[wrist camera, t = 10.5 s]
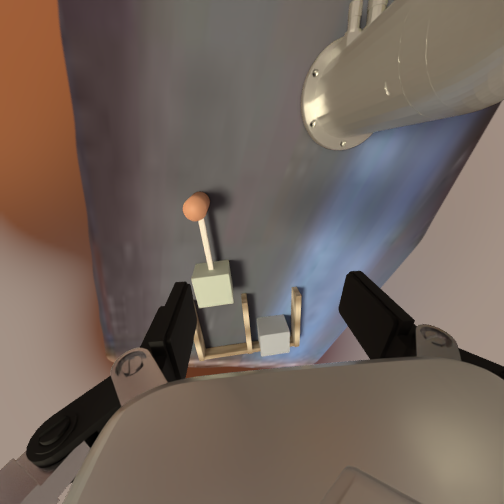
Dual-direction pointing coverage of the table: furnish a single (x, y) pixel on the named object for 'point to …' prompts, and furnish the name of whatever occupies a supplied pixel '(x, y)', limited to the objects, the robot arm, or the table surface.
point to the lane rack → (248, 333)
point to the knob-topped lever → (208, 261)
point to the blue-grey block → (273, 335)
